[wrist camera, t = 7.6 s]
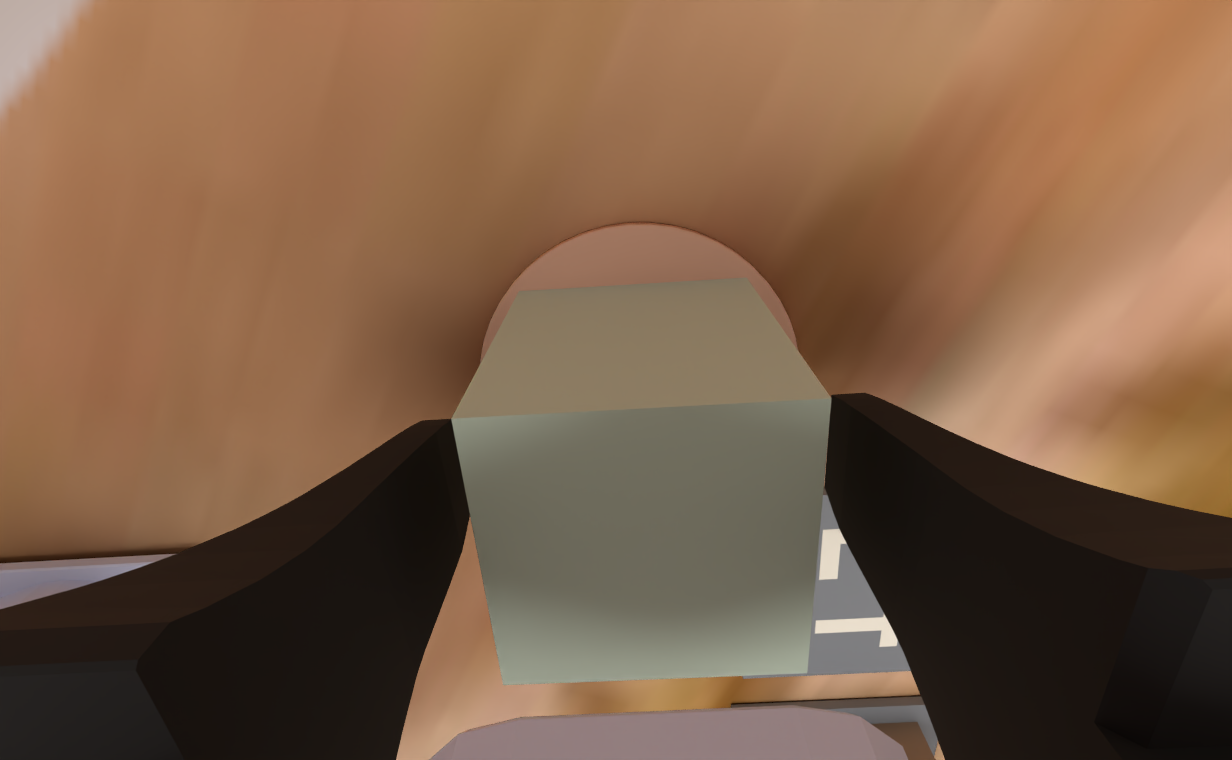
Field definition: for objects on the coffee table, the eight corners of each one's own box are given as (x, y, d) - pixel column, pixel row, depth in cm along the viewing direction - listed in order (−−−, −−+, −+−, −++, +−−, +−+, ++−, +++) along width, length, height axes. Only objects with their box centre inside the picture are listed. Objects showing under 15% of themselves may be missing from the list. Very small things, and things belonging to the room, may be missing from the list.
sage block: (543, 481, 16) (503, 685, 10) (519, 291, 14) (451, 419, 8) (741, 471, 16) (807, 673, 10) (746, 277, 14) (832, 398, 8)
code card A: (741, 670, 19) (743, 679, 19) (743, 492, 16) (745, 500, 16) (957, 660, 19) (962, 668, 18) (995, 478, 16) (1001, 484, 16)
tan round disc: (507, 515, 17) (505, 525, 16) (457, 235, 14) (452, 238, 13) (788, 500, 16) (792, 508, 16) (802, 209, 13) (808, 212, 13)
